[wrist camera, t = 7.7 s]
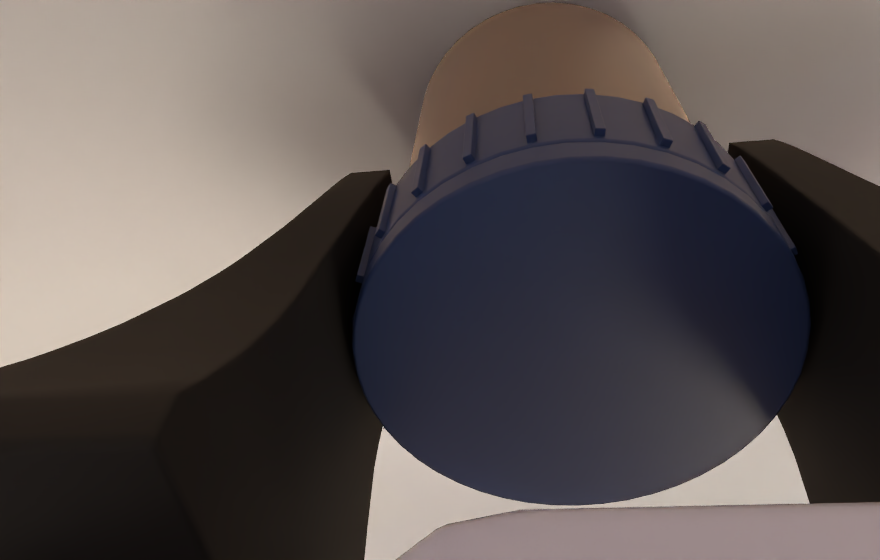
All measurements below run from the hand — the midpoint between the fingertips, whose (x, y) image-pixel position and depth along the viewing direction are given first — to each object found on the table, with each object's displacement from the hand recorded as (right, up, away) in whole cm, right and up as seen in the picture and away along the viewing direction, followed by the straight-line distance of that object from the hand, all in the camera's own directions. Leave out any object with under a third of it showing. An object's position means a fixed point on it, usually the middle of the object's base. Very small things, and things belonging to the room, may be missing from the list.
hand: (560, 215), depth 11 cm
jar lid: (0, -2, -3) cm, 3 cm away
